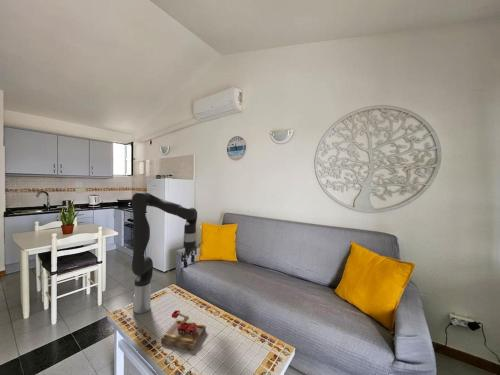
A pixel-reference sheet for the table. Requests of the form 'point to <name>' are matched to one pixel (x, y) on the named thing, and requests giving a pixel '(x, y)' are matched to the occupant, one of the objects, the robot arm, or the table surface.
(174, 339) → the platform
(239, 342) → the table surface
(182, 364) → the table surface
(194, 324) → the toy fire truck
